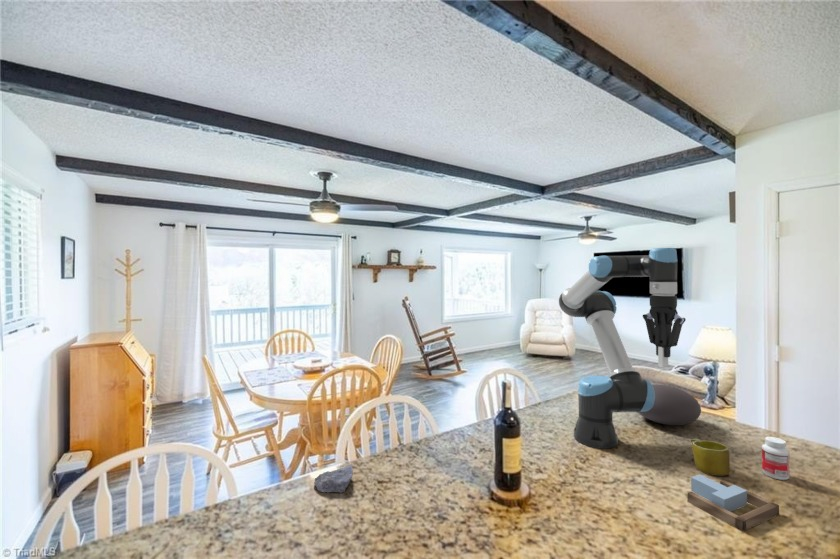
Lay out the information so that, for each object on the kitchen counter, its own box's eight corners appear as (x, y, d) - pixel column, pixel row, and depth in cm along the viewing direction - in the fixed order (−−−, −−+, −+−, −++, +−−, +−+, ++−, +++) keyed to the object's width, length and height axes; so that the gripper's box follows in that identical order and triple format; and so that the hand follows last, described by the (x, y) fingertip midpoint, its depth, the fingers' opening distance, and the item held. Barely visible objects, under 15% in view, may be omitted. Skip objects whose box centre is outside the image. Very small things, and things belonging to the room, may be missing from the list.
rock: (352, 460, 117) (354, 473, 107) (353, 477, 117) (355, 492, 107) (313, 467, 114) (312, 481, 104) (315, 485, 114) (313, 501, 104)
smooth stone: (640, 406, 172) (640, 374, 172) (706, 421, 154) (706, 386, 154) (621, 421, 156) (621, 386, 156) (693, 440, 137) (693, 400, 137)
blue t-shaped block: (684, 493, 105) (684, 479, 105) (706, 485, 109) (706, 472, 108) (724, 514, 96) (724, 499, 95) (747, 505, 99) (747, 490, 99)
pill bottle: (769, 468, 117) (769, 434, 117) (794, 478, 112) (794, 442, 112) (757, 472, 115) (757, 437, 115) (781, 482, 110) (782, 445, 109)
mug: (746, 475, 110) (730, 441, 112) (709, 483, 112) (694, 449, 114) (724, 463, 121) (710, 432, 124) (691, 470, 123) (678, 439, 126)
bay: (687, 501, 101) (687, 492, 101) (723, 488, 107) (723, 479, 107) (742, 531, 89) (742, 521, 89) (779, 514, 95) (779, 505, 95)
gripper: (636, 294, 125) (636, 363, 125) (675, 296, 112) (675, 372, 113) (651, 293, 127) (652, 361, 128) (691, 295, 115) (691, 369, 116)
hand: (663, 366), depth 120 cm, fingers closed
